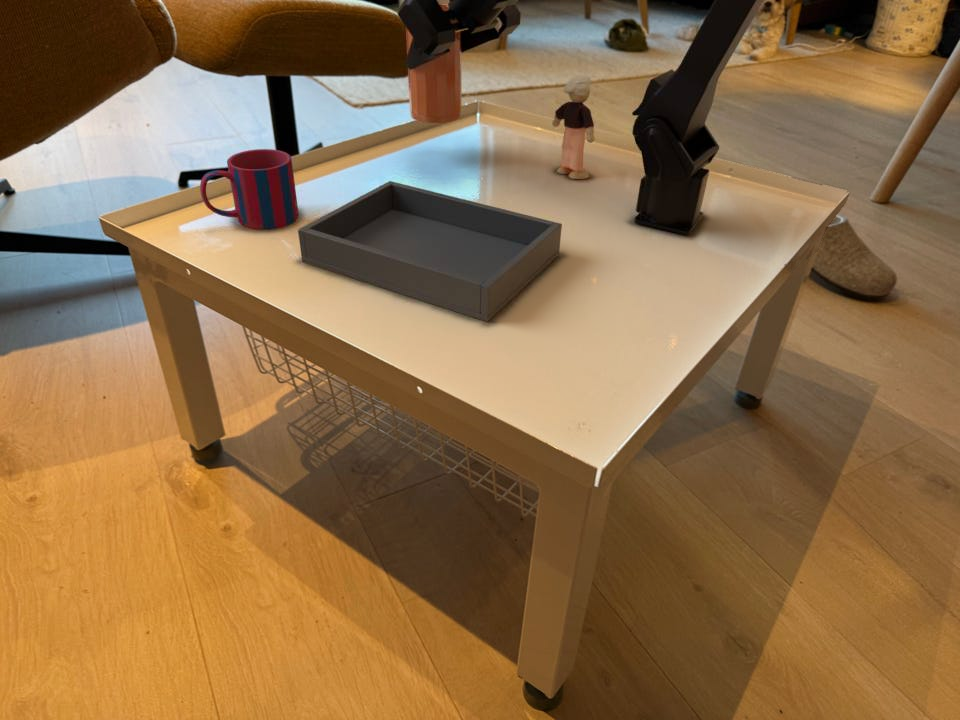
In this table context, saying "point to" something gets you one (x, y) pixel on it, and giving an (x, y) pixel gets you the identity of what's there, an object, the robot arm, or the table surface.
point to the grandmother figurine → (575, 126)
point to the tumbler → (436, 85)
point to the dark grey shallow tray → (433, 247)
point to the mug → (259, 189)
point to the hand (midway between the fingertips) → (425, 61)
